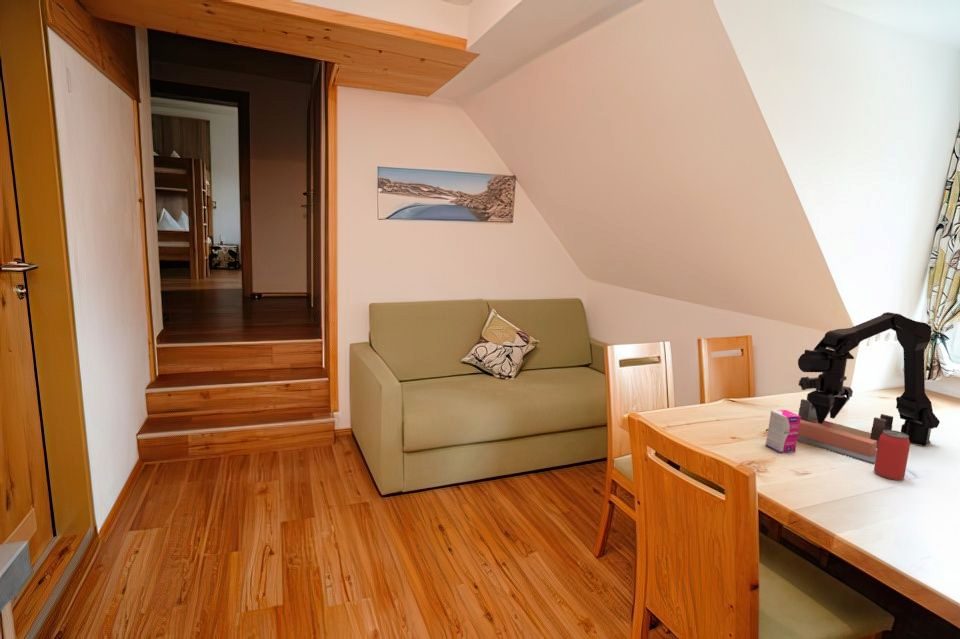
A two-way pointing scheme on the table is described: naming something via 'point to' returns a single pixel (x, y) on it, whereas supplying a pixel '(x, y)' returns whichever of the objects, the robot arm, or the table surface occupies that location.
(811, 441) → the slate mat
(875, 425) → the rail rack
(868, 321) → the robot arm
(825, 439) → the rail
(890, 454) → the beer can
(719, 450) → the table surface
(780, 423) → the supplement box
